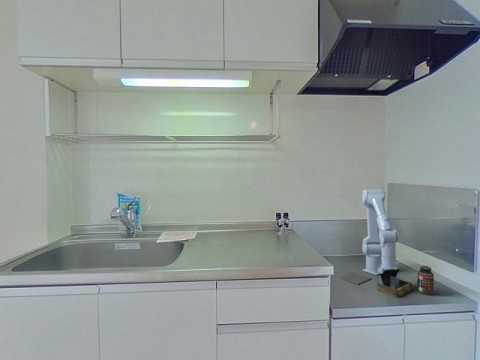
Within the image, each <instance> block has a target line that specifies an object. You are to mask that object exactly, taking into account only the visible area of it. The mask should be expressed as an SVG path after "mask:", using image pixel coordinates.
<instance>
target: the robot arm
mask: <svg viewBox="0 0 480 360" xmlns="http://www.w3.org/2000/svg"><path fill="white" fill-rule="evenodd" d="M361 199H362V201H361V202H362V205H364V206H365V210H366V222H367V223H366V224H367V225H366V226H367V236H366V237H364V238H363V239H362V244H361V247H362V249H361V250H362V252H363V254H364V255H365V268H362V272H366V273H369V274H372V275H375V276H378V275H379V276H381V279H382V282H383V285H385V286H388V287H389V282H390V277H391V276H392V277H395V278H397V276H398V274H399V272H400V269H399V267H400V262H398V261H396V258H397V257H396V256H397V255H396V254H397V252H396V251H397V248H396V247H397V246H396V245H397V244H396V243H398V241H399V235H398V231H397V230H396V229H395V227H393V225H392V221H391V218H390V216H388V215H387V214H386V210H385V204H384V203H385V199H386V192H385V190H384V189H382V188H380V189H363V190H362V193H361ZM378 230H379V232H378ZM378 233H379V234H378Z"/></svg>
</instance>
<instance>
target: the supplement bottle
mask: <svg viewBox="0 0 480 360" xmlns="http://www.w3.org/2000/svg"><path fill="white" fill-rule="evenodd" d="M434 276H435V275H434V273H433V272H432V268H431V267H430V266H428V265H421V266H419V270H417V282H416V283H417V287H416V288H417V292H418V293H420V294H422V295H425V296H431V295H434V291H435V289H434V288H435V277H434Z"/></svg>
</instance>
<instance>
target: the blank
mask: <svg viewBox="0 0 480 360" xmlns="http://www.w3.org/2000/svg"><path fill="white" fill-rule="evenodd" d="M378 277H379V278H378V279H379V280H378V283H379V284H382V285H383V282H382V279H381V276H380V275H379V276H378ZM399 279H400V278H399V277H398V278H397V277H396V278H395V277H392V276H391V277H390V282H389V287H390V288H393V289H398V288H400V286H399Z"/></svg>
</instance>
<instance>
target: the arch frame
mask: <svg viewBox="0 0 480 360" xmlns="http://www.w3.org/2000/svg"><path fill="white" fill-rule="evenodd" d="M412 285H413V283H412V282H409V281H406V280H403V279H400V278H399V288H398V289H393V288H390V287H388V286H385V285H382V284H379V282H377V283H376V290H377V291H379V292H382V293H384V294H386V295H389V296H392V297H394V298H400V297H401V296H403V295H404V294H407V293H408V292H410V291H412V290H413V289H412V288H413V286H412Z"/></svg>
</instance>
